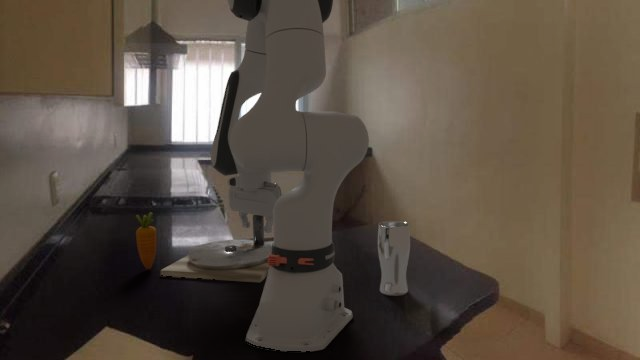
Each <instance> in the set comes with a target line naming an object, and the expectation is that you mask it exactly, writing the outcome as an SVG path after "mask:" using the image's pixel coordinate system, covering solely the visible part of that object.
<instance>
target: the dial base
mask: <svg viewBox="0 0 640 360" xmlns="http://www.w3.org/2000/svg"><path fill="white" fill-rule="evenodd" d="M271 267H272V266H269V264H268V261H266V262H264V263H262V264H259V265H255V266H251V267H246V268H239V269H228V270H213V269H203V268H198V267H195V266H193V265H191V264H190V263H189V262H188V254H187V255H185V256H183V257H182V258H180V259H178V260H177V261H175V262H173V263H171V264H170V265H168V266H166V267H164V268H162V269H161V270H160V276H161V275H163V276H162V277H166V276H172V277H171V278H181V277H185V279H197V278H202V279H201V280H213V279H215V281H230V282H232V281H233V282H247V283H248V282H249V283H261V282H262V281H264V280H266V279H267V275H268V270H269V269H270V268H271ZM265 278H266V279H265Z"/></svg>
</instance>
